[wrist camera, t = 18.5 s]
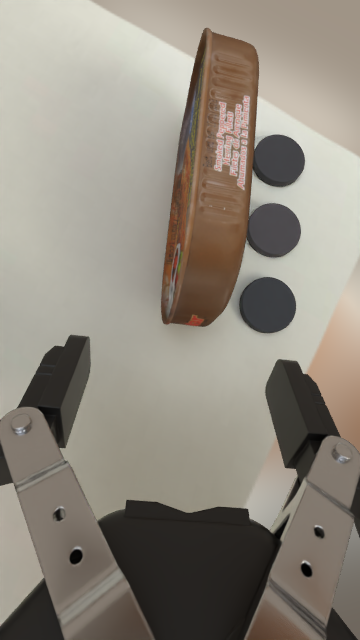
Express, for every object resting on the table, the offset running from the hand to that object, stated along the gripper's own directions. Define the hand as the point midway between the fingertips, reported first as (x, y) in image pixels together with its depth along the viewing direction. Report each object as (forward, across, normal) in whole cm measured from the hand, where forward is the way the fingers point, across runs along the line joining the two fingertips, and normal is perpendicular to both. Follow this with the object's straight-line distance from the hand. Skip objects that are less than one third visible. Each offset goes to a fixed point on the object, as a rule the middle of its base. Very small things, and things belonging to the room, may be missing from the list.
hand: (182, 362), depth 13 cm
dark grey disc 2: (+11, -6, -2) cm, 13 cm away
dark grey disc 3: (+8, -6, +1) cm, 10 cm away
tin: (+11, 0, -2) cm, 11 cm away
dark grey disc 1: (+15, -6, -6) cm, 17 cm away
